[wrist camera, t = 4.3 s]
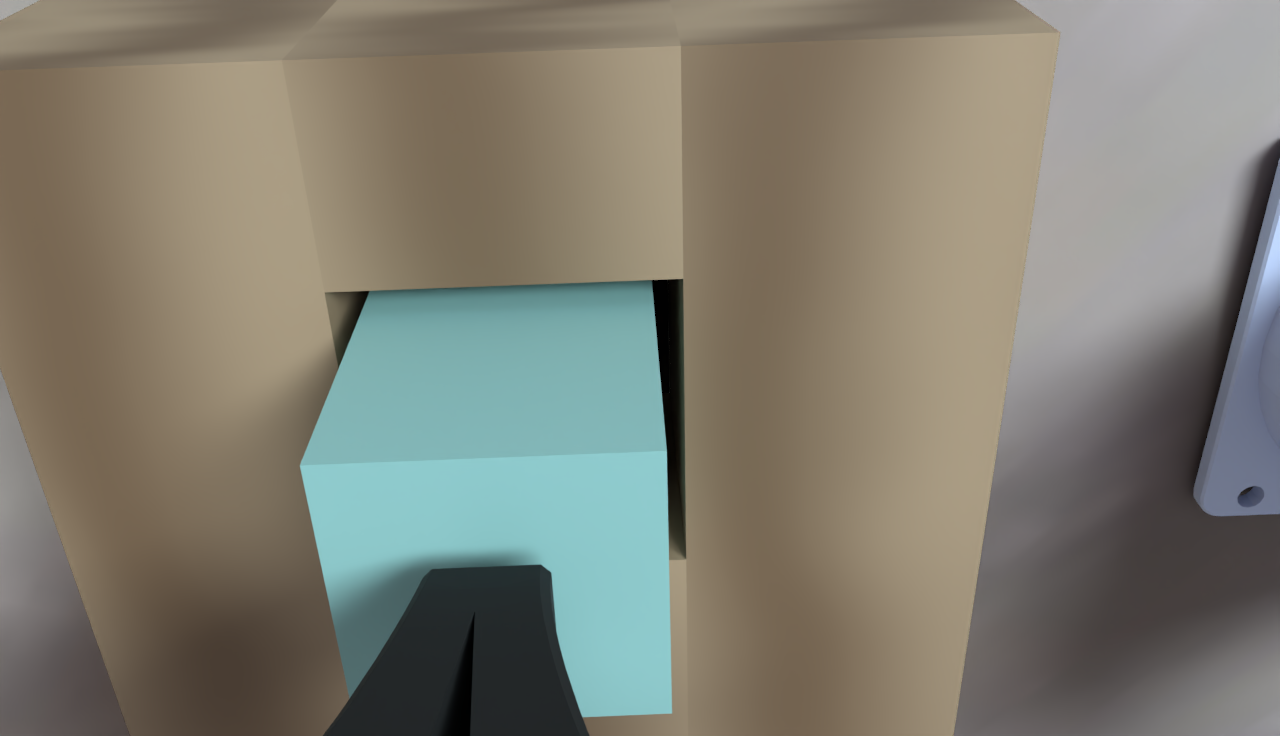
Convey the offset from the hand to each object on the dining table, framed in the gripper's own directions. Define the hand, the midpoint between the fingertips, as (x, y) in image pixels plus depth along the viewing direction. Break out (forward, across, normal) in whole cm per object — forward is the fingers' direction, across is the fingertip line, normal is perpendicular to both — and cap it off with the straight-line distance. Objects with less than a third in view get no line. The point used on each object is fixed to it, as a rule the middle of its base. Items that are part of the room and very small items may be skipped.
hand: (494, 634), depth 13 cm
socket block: (+9, 0, +6) cm, 11 cm away
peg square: (+6, 0, 0) cm, 6 cm away
